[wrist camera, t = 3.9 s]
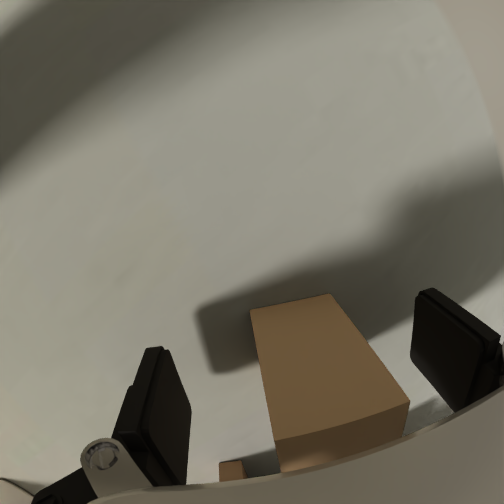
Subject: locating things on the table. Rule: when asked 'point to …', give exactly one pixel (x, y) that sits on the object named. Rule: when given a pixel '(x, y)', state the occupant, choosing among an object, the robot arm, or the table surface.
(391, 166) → the table surface
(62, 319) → the table surface
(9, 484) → the can
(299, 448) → the block
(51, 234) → the table surface
